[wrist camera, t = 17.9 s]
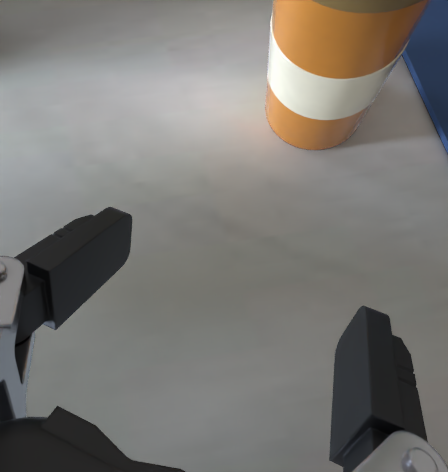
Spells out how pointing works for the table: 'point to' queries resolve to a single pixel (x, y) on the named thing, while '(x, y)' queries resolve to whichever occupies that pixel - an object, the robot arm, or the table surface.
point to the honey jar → (332, 64)
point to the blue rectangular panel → (431, 63)
